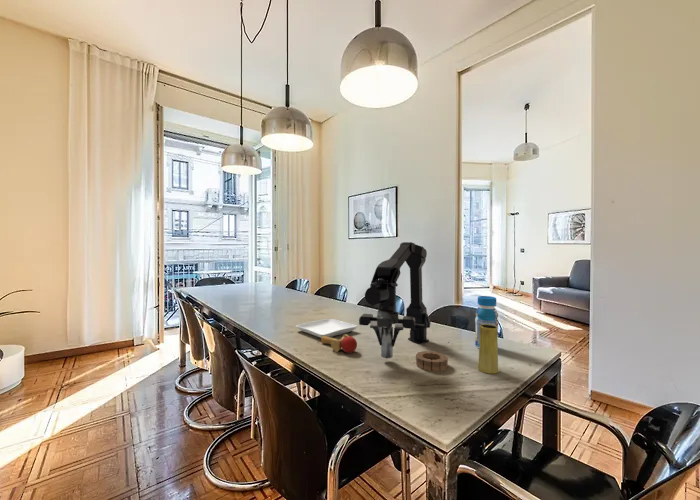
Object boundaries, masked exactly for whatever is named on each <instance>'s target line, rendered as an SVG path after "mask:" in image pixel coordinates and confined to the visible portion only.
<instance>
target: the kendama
mask: <svg viewBox="0 0 700 500" xmlns="http://www.w3.org/2000/svg"><path fill="white" fill-rule="evenodd" d="M320 342H321V343H322V344H328V345H330V347H331V349H332V350H333V351H334V352H338V353H339V352H340V351H341V350H342V351H343V352H345V353H346V354H351V353H354V352H355V351H356V349H357V346H358V342H357V340H356V339H355V337H353V336H351V335H350V336H349V334H348V333H345V334H342V337H341V338H339V339H338V338H334V337H327V336H322V338H320Z"/></svg>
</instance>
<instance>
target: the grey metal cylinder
mask: <svg viewBox="0 0 700 500" xmlns="http://www.w3.org/2000/svg"><path fill="white" fill-rule="evenodd" d="M393 335H394V327H393V326H392V327H391V328H387V327H381V346H380V357H381V358H383V359H391V358H393V357H394V356H393V355H394V354H393V353H394V347H393Z"/></svg>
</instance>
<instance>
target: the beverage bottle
mask: <svg viewBox="0 0 700 500" xmlns="http://www.w3.org/2000/svg"><path fill="white" fill-rule="evenodd" d="M477 305H478V307H477V309H476V311H475V319H474V323H475V341H474V345H475V347H476V348H477V349H479V340H480V325H482V324H490V325H494V326H497V327H498V328H499V320H498V317H499V312H498V311H497V309H496V308H495V307H497V297H495V296H490V295H479V296H477ZM498 342H499V341H497V345H498V346H499V344H498Z"/></svg>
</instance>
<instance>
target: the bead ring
mask: <svg viewBox="0 0 700 500" xmlns="http://www.w3.org/2000/svg"><path fill="white" fill-rule="evenodd" d="M448 360H449V359H448V356H447V355H446V354H443V353H441V352H438V351H433V350H432V351H431V350H428V351H427V350H424V351H423V350H422V351H418V352H417V353H416V354H415V366H417V368H419V369H421V370H424V371H428V372H443V371H446V370H447V369H448V367H449V365H448Z"/></svg>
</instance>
